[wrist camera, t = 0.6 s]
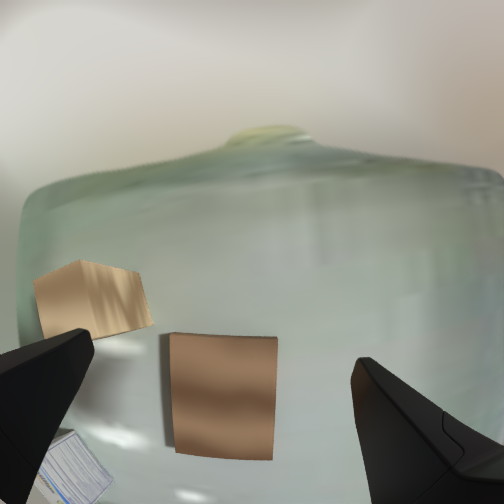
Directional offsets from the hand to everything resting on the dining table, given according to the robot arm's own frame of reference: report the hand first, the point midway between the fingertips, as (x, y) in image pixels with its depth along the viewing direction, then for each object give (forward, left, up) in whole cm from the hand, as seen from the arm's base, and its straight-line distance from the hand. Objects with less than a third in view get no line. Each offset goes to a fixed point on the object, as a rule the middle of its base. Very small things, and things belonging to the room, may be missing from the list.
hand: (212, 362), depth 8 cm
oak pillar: (-9, +7, -16) cm, 20 cm away
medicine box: (-26, -6, -16) cm, 32 cm away
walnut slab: (-5, -5, -16) cm, 18 cm away
